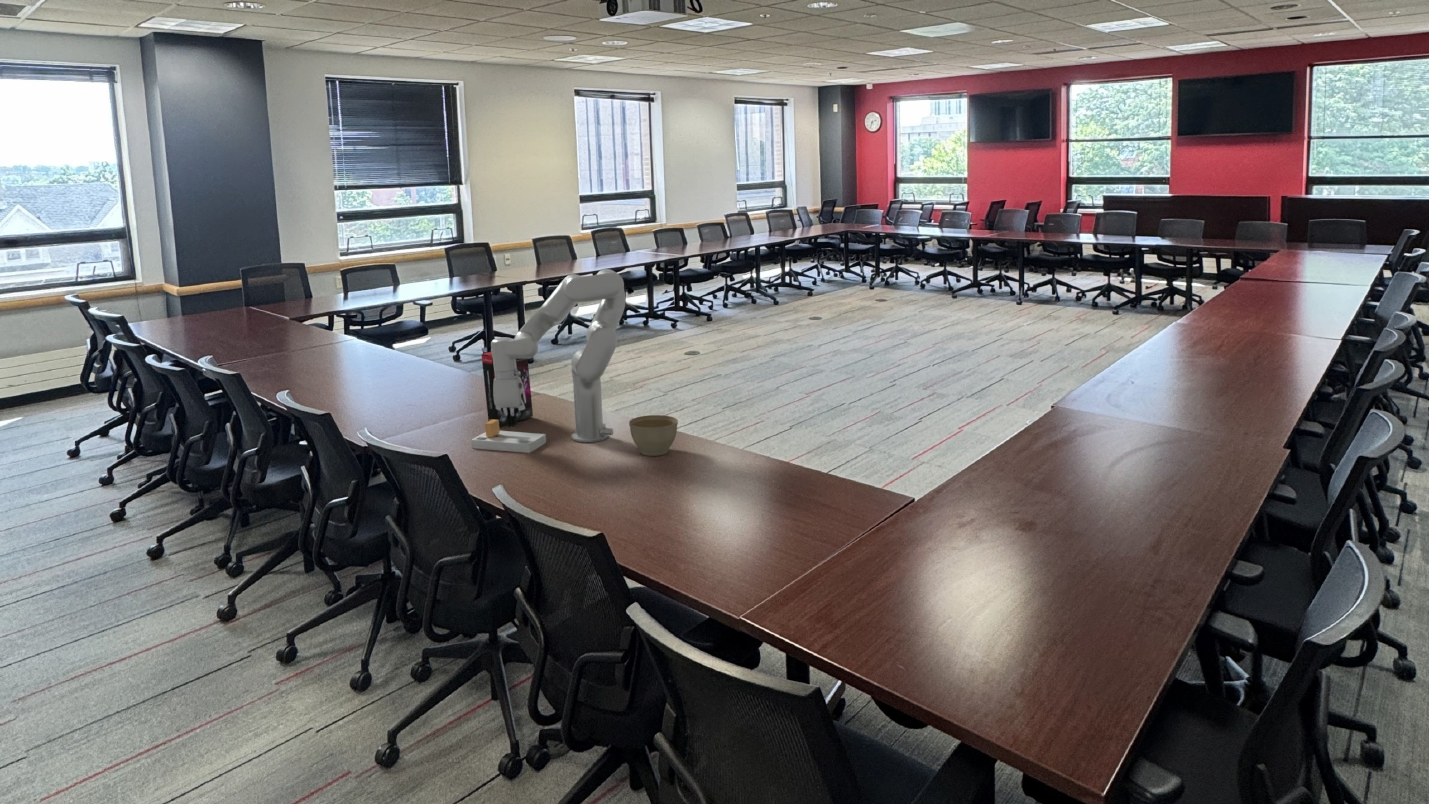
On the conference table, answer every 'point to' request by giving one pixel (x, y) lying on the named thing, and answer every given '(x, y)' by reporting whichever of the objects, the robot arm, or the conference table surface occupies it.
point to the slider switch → (510, 441)
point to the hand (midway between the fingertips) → (512, 425)
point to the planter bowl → (653, 433)
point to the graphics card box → (489, 380)
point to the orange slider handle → (492, 428)
